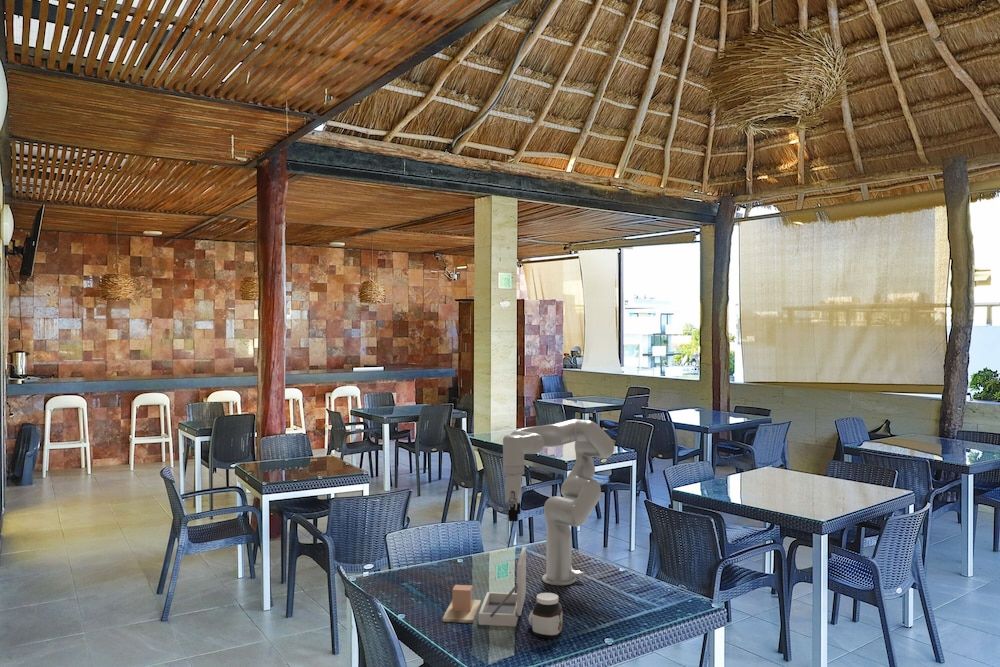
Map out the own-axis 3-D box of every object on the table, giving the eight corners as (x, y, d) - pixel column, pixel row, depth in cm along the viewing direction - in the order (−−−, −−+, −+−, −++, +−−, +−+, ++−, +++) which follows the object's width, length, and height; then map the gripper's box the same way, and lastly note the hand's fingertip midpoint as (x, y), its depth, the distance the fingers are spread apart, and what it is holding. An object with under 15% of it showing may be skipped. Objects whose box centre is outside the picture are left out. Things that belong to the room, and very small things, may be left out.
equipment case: (525, 603, 244) (525, 547, 244) (520, 627, 223) (520, 565, 223) (487, 602, 245) (487, 545, 246) (478, 625, 225) (478, 564, 225)
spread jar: (550, 642, 212) (550, 603, 212) (518, 634, 218) (518, 596, 218) (568, 629, 222) (568, 592, 222) (537, 621, 228) (537, 585, 228)
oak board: (481, 602, 245) (481, 599, 245) (472, 623, 227) (472, 619, 227) (452, 601, 246) (452, 598, 246) (442, 621, 228) (442, 618, 228)
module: (472, 606, 239) (472, 585, 239) (470, 611, 234) (470, 590, 234) (455, 605, 239) (455, 584, 240) (452, 610, 234) (452, 589, 235)
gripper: (506, 465, 262) (506, 511, 262) (500, 474, 244) (501, 523, 244) (526, 465, 261) (526, 511, 261) (522, 474, 244) (522, 524, 244)
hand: (514, 517), depth 253 cm, fingers open, 9 cm apart
